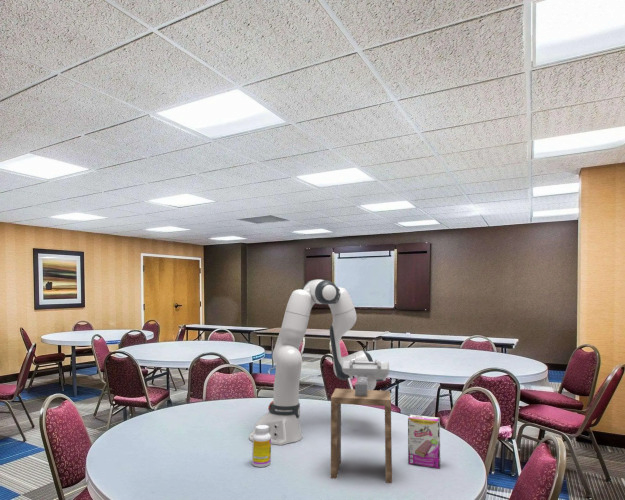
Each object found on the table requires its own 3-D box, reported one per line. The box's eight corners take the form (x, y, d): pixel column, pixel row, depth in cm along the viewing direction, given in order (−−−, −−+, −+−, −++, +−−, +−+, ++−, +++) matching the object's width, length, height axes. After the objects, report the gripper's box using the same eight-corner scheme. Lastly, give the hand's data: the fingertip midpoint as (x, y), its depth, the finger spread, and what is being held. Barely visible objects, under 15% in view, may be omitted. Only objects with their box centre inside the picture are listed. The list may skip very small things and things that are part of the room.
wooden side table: (330, 478, 135) (331, 397, 139) (335, 461, 149) (335, 388, 152) (392, 483, 132) (390, 400, 135) (391, 466, 146) (390, 390, 149)
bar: (355, 396, 140) (355, 384, 141) (358, 384, 160) (358, 374, 160) (366, 396, 139) (366, 384, 140) (368, 384, 159) (368, 374, 160)
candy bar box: (408, 464, 147) (407, 417, 149) (409, 459, 152) (408, 413, 154) (440, 469, 144) (439, 420, 145) (441, 464, 148) (439, 417, 150)
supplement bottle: (272, 466, 144) (272, 428, 146) (253, 468, 143) (254, 430, 144) (268, 459, 151) (269, 423, 152) (250, 461, 149) (251, 424, 150)
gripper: (342, 365, 185) (340, 353, 174) (388, 366, 181) (388, 354, 170) (342, 379, 181) (339, 367, 170) (389, 380, 178) (389, 369, 167)
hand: (364, 361), depth 170 cm, fingers open, 8 cm apart
